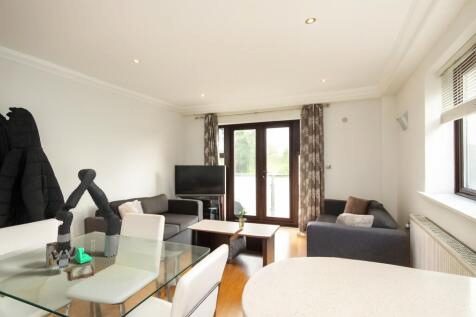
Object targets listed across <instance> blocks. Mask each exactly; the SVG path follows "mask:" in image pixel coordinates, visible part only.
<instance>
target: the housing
mask: <svg viewBox="0 0 476 317" xmlns="http://www.w3.org/2000/svg"><path fill="white" fill-rule="evenodd" d="M68 267H69V263H68V256H67V254H63V255H61V256H60V258H59V265H58V269H64V268H65V269H66V268H68Z"/></svg>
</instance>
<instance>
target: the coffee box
mask: <svg viewBox="0 0 476 317" xmlns="http://www.w3.org/2000/svg"><path fill="white" fill-rule="evenodd" d="M45 246H46V248H45V251H46V252H45V266H46V267H47V268H48V269H51V268H55V267H59V265H57V260H53V257H52V254H51V251H52V250H53V251H54V250H56V249H57V241H54V242H53V241H52V242H49V243H46V245H45ZM57 256H58V253H57V252H55V257H57Z"/></svg>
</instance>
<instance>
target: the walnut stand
mask: <svg viewBox="0 0 476 317" xmlns="http://www.w3.org/2000/svg"><path fill="white" fill-rule="evenodd" d="M69 274H70V281H71V282H72V281H76V280H80V279H85V278H90V277H93V276H95V271H94V267H93V264H88V265H84V266H83V265H82V266H77V267H73V268H70V269H69Z"/></svg>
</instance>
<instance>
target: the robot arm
mask: <svg viewBox="0 0 476 317" xmlns="http://www.w3.org/2000/svg"><path fill="white" fill-rule="evenodd" d="M96 177H97V172H96V170H94V169H92V168H84V169H80V170H79V171H78V173H77V178H78V179H79V181H80V183H79V184H78V186H77V187H76V188H75V189H74V190H73V191H72V192H71V193H70V194H69V196H68V198H66V199H67V200H66V201H65V203H64V204H63V205H62V206H61V207H60V208H59V209H58V210H57V211H56V214H55V220H56V221H61V222H62V223H61V224H59V225H58V226H57V237H56V242H57V249H56V250H54V251H53V250H52V251H51V254H52V257H53V260H57V265H58V266H59V258H60V256H61V255H63V254H67V256H68V264H70V263H71V258H72V257H75V254H76V251H77V248H76V246H71V245H72V243H71V241H72V236H71V226H72V223H73V220H74V213H73V212H72V211H71V210H75V209H76V208H77V206H78V204H79V202H80V200H81V199H82V197H83V195H84V194H85V193H86V191H87V192H88V194H89V196H90V197H91V200H92V201H93V203H94V204H95V206H96V207H97V209H98V210H99V212H100V213H101V216H102V218H103V220H104V222H105V224H107V225H106V230H105V233H104V251H103V255H104V257H106V256H107V257H106V258H111V256H112V257H114V256H113V255H115V254H117V255H118V250H119V243H118V242H119V240H118V238H119V231H120V224H121V220H120V219H121V218H120V217H119V215H117V214H116V213H115V212H114V211H113V209H112V208H111V206H110V203H109V199H108V197H107V195H106V193H105V192H104V190H102V188H100V187H99V186H98V185H97V184H96V183H95V181H94V180H95V178H96ZM70 251H72V252H71V254H70ZM55 252H57V253H58V256H57V257H55ZM115 256H116V255H115Z"/></svg>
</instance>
